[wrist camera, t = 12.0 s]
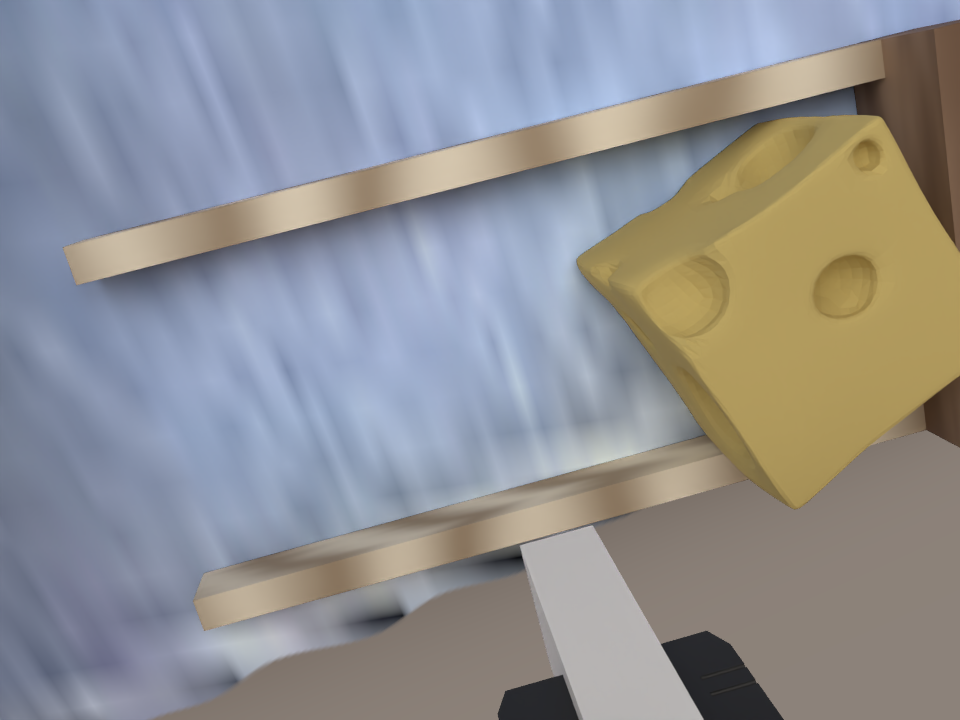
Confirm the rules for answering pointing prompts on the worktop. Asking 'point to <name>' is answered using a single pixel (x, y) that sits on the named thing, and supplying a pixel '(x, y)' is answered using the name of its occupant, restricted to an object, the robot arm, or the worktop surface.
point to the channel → (601, 488)
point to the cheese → (793, 296)
